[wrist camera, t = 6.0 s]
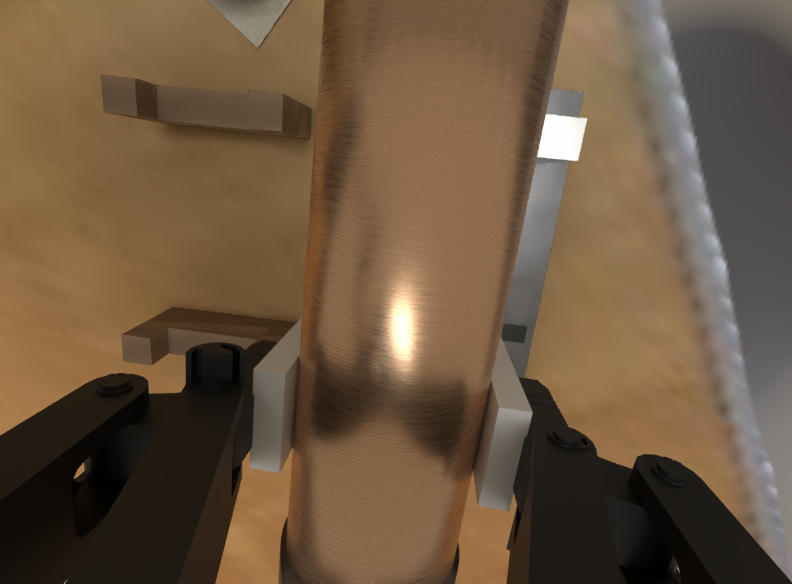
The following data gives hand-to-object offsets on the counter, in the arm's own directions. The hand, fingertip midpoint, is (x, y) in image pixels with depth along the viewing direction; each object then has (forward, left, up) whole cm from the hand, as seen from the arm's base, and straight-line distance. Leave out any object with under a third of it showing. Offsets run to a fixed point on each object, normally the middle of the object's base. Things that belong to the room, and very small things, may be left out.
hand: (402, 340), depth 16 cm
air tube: (0, 0, +2) cm, 2 cm away
